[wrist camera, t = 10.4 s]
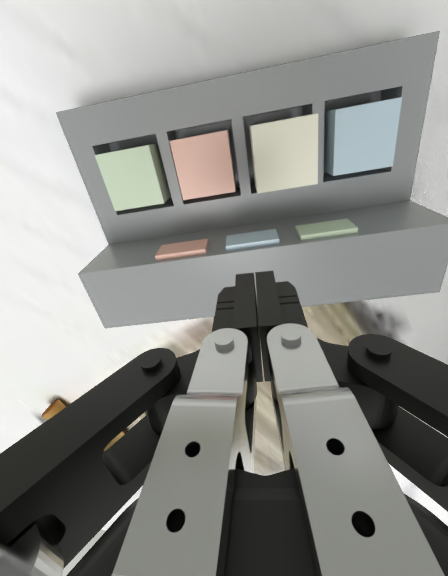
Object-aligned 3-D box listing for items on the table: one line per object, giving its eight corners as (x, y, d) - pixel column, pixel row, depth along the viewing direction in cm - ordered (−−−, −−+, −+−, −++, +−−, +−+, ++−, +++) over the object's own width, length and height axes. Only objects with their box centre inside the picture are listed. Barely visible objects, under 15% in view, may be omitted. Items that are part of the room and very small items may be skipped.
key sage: (161, 142, 22) (148, 145, 19) (174, 192, 24) (164, 203, 21) (115, 150, 23) (94, 155, 19) (131, 199, 25) (115, 211, 21)
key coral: (228, 129, 21) (226, 130, 18) (235, 182, 23) (235, 191, 20) (179, 138, 22) (169, 141, 19) (190, 189, 24) (183, 200, 21)
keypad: (404, 47, 20) (522, -8, 12) (378, 241, 27) (439, 291, 19) (83, 114, 23) (-3, 108, 14) (140, 273, 30) (104, 328, 22)
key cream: (304, 115, 19) (318, 113, 16) (305, 174, 21) (317, 184, 18) (248, 125, 20) (250, 126, 17) (254, 183, 22) (257, 193, 19)
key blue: (375, 101, 20) (402, 97, 17) (369, 160, 22) (392, 166, 19) (320, 112, 21) (335, 109, 17) (319, 168, 23) (333, 176, 19)
